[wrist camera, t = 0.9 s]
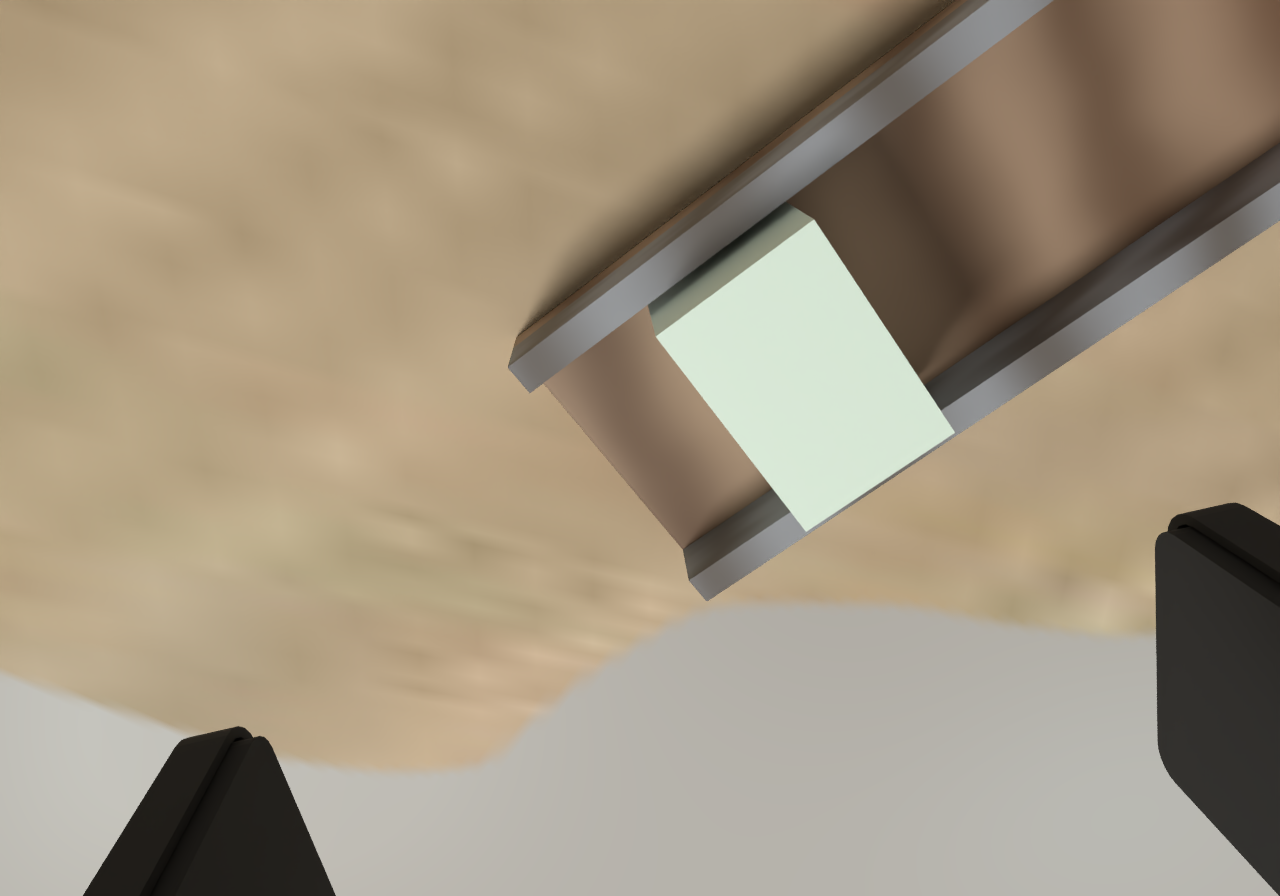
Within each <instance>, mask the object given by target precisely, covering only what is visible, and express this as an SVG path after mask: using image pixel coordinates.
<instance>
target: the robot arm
mask: <svg viewBox="0 0 1280 896" xmlns="http://www.w3.org/2000/svg"><path fill="white" fill-rule="evenodd" d="M1155 582H1156V650H1157V651H1156V653H1157V722H1158V724H1157V726H1158V748H1159V753H1160V756H1161V759H1162V761H1163V764H1164V766H1165V768H1166V770H1167V772H1168V773H1169V775H1170V777H1171V778H1172V779H1173V780H1174V782H1175V783H1176V784H1177V785H1178V786H1179V787H1180V788H1181V789H1182V790H1183V792H1184V793H1185V794H1186V795H1187V796H1188V797H1189V798H1190V799H1191V800H1192V801H1193V803H1195V805H1196V806H1197V807H1198V808H1199V809H1200V810H1201V811H1202V812H1203V813H1204V814H1205V815H1206V817H1207V818H1208V819H1209V820H1210V821H1211V822H1212V823H1213V824H1214V825H1215V826H1216V828H1218V830H1219V831H1220V832H1221V833H1222V834H1223V835H1224V836H1225V837H1226V838H1227V840H1229V842H1230V843H1231V844H1232V845H1233V846H1234V847H1235V848H1236V849H1237V850H1238V852H1239V853H1240V854H1241V855H1242V856H1243V857H1244V858H1245V859H1246V860H1247V861H1248V862H1249V863H1250V865H1251V866H1252V867H1253V868H1254V869H1255V870H1256V871H1257V872H1258V873H1259V874H1260V875H1261V876H1262V878H1263V879H1264V880H1265V881H1266V882H1267V883H1268V884H1269V885H1270V886H1271V887H1272V889H1273V890H1274V891H1275V892H1276V893H1277V894H1278V895H1279V896H1280V526H1279V525H1277V524H1276V523H1274V522H1272V521H1270V520H1269V519H1267V518H1265V517H1263V516H1262V515H1260V514H1258V513H1256V512H1255V511H1253V510H1251V509H1249V508H1248V507H1246V506H1244V505H1241V504H1238V503H1227V504H1223V505H1218V506H1214V507H1210V508H1205V509H1201V510H1196V511H1192V512H1187V513H1183V514H1179V515H1176V516H1175V517H1174V518H1173V519H1172V520H1171V522H1170V524H1169V526H1168V532H1163V533H1161V534H1160V535H1159V536H1158V538H1157V540H1156V545H1155ZM83 896H336V895H335V893H334V891H333V888H332V886H331V884H330V881H329V879H328V876H327V874H326V872H325V869H324V867H323V865H322V862H321V860H320V858H319V856H318V853H317V851H316V849H315V846H314V844H313V841H312V839H311V837H310V834H309V832H308V830H307V828H306V825H305V823H304V821H303V818H302V816H301V814H300V811H299V809H298V807H297V804H296V802H295V800H294V797H293V795H292V793H291V790H290V788H289V786H288V783H287V781H286V779H285V776H284V774H283V772H282V769H281V767H280V765H279V762H278V760H277V758H276V755H275V753H274V751H273V748H272V746H271V745H270V743H269V741H268V740H267V739H266V738H265V737H261V736H258V737H254V738H253V737H252V735H251V733H250V732H248V731H247V730H246V729H245V728H243V727H239V726H238V727H233V728H229V729H224V730H220V731H215V732H211V733H207V734H202V735H198V736H193V737H189V738H186V739H183V740H181V741H180V742H179V743H178V745H177V746H176V747H175V748H174V750H173V751H172V753H171V755H170V756H169V758H168V759H167V761H166V763H165V764H164V766H163V768H162V769H161V771H160V773H159V774H158V776H157V777H156V779H155V781H154V782H153V784H152V785H151V787H150V788H149V790H148V792H147V793H146V795H145V797H144V798H143V800H142V801H141V803H140V805H139V806H138V808H137V809H136V811H135V813H134V814H133V816H132V817H131V819H130V821H129V822H128V824H127V826H126V827H125V829H124V830H123V832H122V834H121V835H120V837H119V838H118V840H117V842H116V843H115V845H114V846H113V848H112V850H111V851H110V853H109V854H108V856H107V858H106V859H105V861H104V862H103V864H102V866H101V867H100V869H99V871H98V872H97V874H96V875H95V877H94V879H93V880H92V882H91V883H90V885H89V887H88V888H87V890H86V891H85V893H84V895H83Z"/></svg>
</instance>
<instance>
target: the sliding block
mask: <svg viewBox="0 0 1280 896" xmlns="http://www.w3.org/2000/svg"><path fill="white" fill-rule="evenodd" d="M648 308H649V312H650V316H651V320H652V324H653V328H654V332H655V336H656V338H657V339H658V340H659V342H660V343H661V344H662V346H663V347H664V348H665V349H666V351H667V352H668V353H669V355H670V356H671V357H672V359H673V360H674V361H675V362H676V364H677V365H678V366H679V368H680V369H681V370H682V372H683V373H684V374H685V375H686V377H687V378H688V379H689V381H690V382H691V383H692V384H693V386H694V387H695V388H696V390H697V391H698V392H699V394H700V395H701V396H702V397H703V399H704V400H705V401H706V403H707V404H708V405H709V407H710V408H711V409H712V410H713V412H714V413H715V414H716V416H717V417H718V418H719V420H720V421H721V422H722V423H723V425H724V426H725V427H726V429H727V430H728V431H729V433H730V434H731V435H732V436H733V438H734V439H735V440H736V442H737V443H738V444H739V446H740V447H741V448H742V449H743V451H744V452H745V453H746V455H747V456H748V457H749V459H750V460H751V461H752V462H753V464H754V465H755V466H756V468H757V469H758V470H759V472H760V473H761V474H762V475H763V477H764V478H765V479H766V481H767V482H768V483H769V484H770V486H771V487H772V488H773V490H774V491H775V492H776V494H777V495H778V496H779V497H780V499H781V500H782V501H783V503H784V504H785V505H786V507H787V508H788V509H789V510H790V512H791V513H792V514H793V516H794V517H795V518H796V520H797V521H798V522H799V523H800V525H801V526H802V527H803V529H804V530H805V531H806V532H807V531H808V530H810V529H811V528H813V527H814V526H816V525H817V524H819V523H820V522H822V521H823V520H825V519H826V518H828V517H829V516H831V515H832V514H834V513H835V512H837V511H838V510H840V509H841V508H843V507H844V506H846V505H847V504H849V503H850V502H852V501H853V500H855V499H856V498H858V497H859V496H861V495H862V494H864V493H865V492H867V491H868V490H870V489H871V488H873V487H874V486H876V485H877V484H879V483H880V482H882V481H883V480H885V479H886V478H888V477H889V476H891V475H892V474H894V473H895V472H897V471H898V470H900V469H901V468H903V467H904V466H906V465H907V464H909V463H910V462H912V461H913V460H915V459H916V458H918V457H919V456H921V455H922V454H924V453H925V452H927V451H928V450H930V449H931V448H933V447H934V446H936V445H937V444H939V443H940V442H942V441H943V440H945V439H946V438H948V437H949V436H951V435H952V434H954V433H955V432H954V430H953V429H952V427H951V426H950V424H949V423H948V421H947V420H946V418H945V417H944V415H943V414H942V412H941V411H940V409H939V408H938V406H937V404H936V403H935V401H934V400H933V398H932V397H931V395H930V394H929V392H928V391H927V389H926V388H925V386H924V385H923V383H922V382H921V380H920V379H919V377H918V376H917V374H916V373H915V371H914V370H913V368H912V367H911V365H910V364H909V362H908V361H907V359H906V358H905V356H904V355H903V353H902V352H901V350H900V349H899V347H898V346H897V344H896V343H895V341H894V339H893V338H892V336H891V335H890V333H889V332H888V330H887V329H886V327H885V326H884V324H883V323H882V321H881V320H880V318H879V317H878V315H877V314H876V312H875V311H874V309H873V308H872V306H871V305H870V303H869V302H868V300H867V299H866V297H865V296H864V294H863V293H862V291H861V290H860V288H859V287H858V285H857V284H856V282H855V281H854V279H853V278H852V276H851V274H850V273H849V271H848V270H847V268H846V267H845V265H844V264H843V262H842V261H841V259H840V258H839V256H838V255H837V253H836V252H835V250H834V249H833V247H832V246H831V244H830V243H829V241H828V240H827V238H826V237H825V235H824V234H823V232H822V231H821V229H820V228H819V226H818V225H817V223H816V222H815V220H814V219H813V218H811V217H809V216H808V215H806V214H805V213H803V212H801V211H800V210H798V209H797V208H795V207H793V206H792V205H790V204H789V203H787V202H784V203H783V204H781V205H780V206H779V207H777V208H776V209H775V210H773V211H772V212H771V213H769V214H768V215H767V216H765V217H764V218H763V219H761V220H760V221H759V222H757V223H756V224H755V225H753V226H752V227H751V228H749V229H748V230H747V231H745V232H744V233H743V234H741V235H740V236H739V237H737V238H736V239H735V240H733V241H732V242H731V243H729V244H728V245H727V246H725V247H724V248H723V249H721V250H720V251H719V252H717V253H716V254H715V255H713V256H712V257H711V258H709V259H708V260H707V261H705V262H704V263H703V264H701V265H700V266H699V267H697V268H696V269H695V270H693V271H692V272H691V273H689V274H688V275H687V276H685V277H684V278H683V279H681V280H680V281H679V282H677V283H676V284H675V285H674V286H672V287H671V288H670V289H668V290H667V291H666V292H664V293H663V294H662V295H660V296H659V297H658V298H656V299H655V300H654V301H652V302H651V303H650V304H648Z"/></svg>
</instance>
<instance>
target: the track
mask: <svg viewBox="0 0 1280 896" xmlns="http://www.w3.org/2000/svg"><path fill="white" fill-rule="evenodd" d="M784 202H787V203H789V204H790V205H792V206H793V207H795V208H797V209H798V210H800V211H801V212H803V213H805V214H806V215H808V216H809V217H811V218H813V219H814V220H815V222H816V223H817V225H818V226H819V228H820V229H821V231H822V232H823V234H824V235H825V237H826V238H827V240H828V241H829V243H830V244H831V246H832V247H833V249H834V250H835V252H836V253H837V255H838V256H839V258H840V259H841V261H842V262H843V264H844V265H845V267H846V268H847V270H848V271H849V273H850V274H851V276H852V278H853V279H854V281H855V282H856V284H857V285H858V287H859V288H860V290H861V291H862V293H863V294H864V296H865V297H866V299H867V300H868V302H869V303H870V305H871V306H872V308H873V309H874V311H875V312H876V314H877V315H878V317H879V318H880V320H881V321H882V323H883V324H884V326H885V327H886V329H887V330H888V332H889V333H890V335H891V336H892V338H893V339H894V341H895V343H896V344H897V346H898V347H899V349H900V350H901V352H902V353H903V355H904V356H905V358H906V359H907V361H908V362H909V364H910V365H911V367H912V368H913V370H914V371H915V373H916V374H917V376H918V377H919V379H920V380H921V382H922V383H923V385H924V386H925V388H926V389H927V391H928V392H929V394H930V395H931V397H932V398H933V400H934V401H935V403H936V404H937V406H938V408H939V409H940V411H941V412H942V414H943V415H944V417H945V418H946V420H947V421H948V423H949V424H950V426H951V427H952V429H953V430H954V432H955V433H954V434H952V435H951V436H949V437H948V438H946V439H945V440H943V441H942V442H940V443H939V444H937V445H936V446H934V447H933V448H931V449H930V450H928V451H927V452H925V453H924V454H922V455H921V456H919V457H918V458H916V459H915V460H913V461H912V462H910V463H909V464H907V465H906V466H904V467H903V468H901V469H900V470H898V471H897V472H895V473H894V474H892V475H891V476H889V477H888V478H886V479H885V480H883V481H882V482H880V483H879V484H877V485H876V486H874V487H873V488H871V489H870V490H868V491H867V492H865V493H864V494H862V495H861V496H859V497H858V498H856V499H855V500H853V501H852V502H850V503H849V504H847V505H846V506H844V507H843V508H841V509H840V510H838V511H837V512H835V513H834V514H832V515H831V516H829V517H828V518H826V519H825V520H823V521H822V522H820V523H819V524H817V525H816V526H814V527H813V528H811V529H810V530H808V531H807V532H806V531H805V530H804V529H803V527H802V526H801V525H800V523H799V522H798V521H797V520H796V518H795V517H794V516H793V514H792V513H791V512H790V510H789V509H788V508H787V507H786V505H785V504H784V503H783V501H782V500H781V499H780V497H779V496H778V495H777V494H776V492H775V491H774V490H773V488H772V487H771V486H770V484H769V483H768V482H767V481H766V479H765V478H764V477H763V475H762V474H761V473H760V472H759V470H758V469H757V468H756V466H755V465H754V464H753V462H752V461H751V460H750V459H749V457H748V456H747V455H746V453H745V452H744V451H743V449H742V448H741V447H740V446H739V444H738V443H737V442H736V440H735V439H734V438H733V436H732V435H731V434H730V433H729V431H728V430H727V429H726V427H725V426H724V425H723V423H722V422H721V421H720V420H719V418H718V417H717V416H716V414H715V413H714V412H713V410H712V409H711V408H710V407H709V405H708V404H707V403H706V401H705V400H704V399H703V397H702V396H701V395H700V394H699V392H698V391H697V390H696V388H695V387H694V386H693V384H692V383H691V382H690V381H689V379H688V378H687V377H686V375H685V374H684V373H683V372H682V370H681V369H680V368H679V366H678V365H677V364H676V362H675V361H674V360H673V359H672V357H671V356H670V355H669V353H668V352H667V351H666V349H665V348H664V347H663V346H662V344H661V343H660V342H659V340H658V339H657V338H656V336H655V332H654V328H653V324H652V320H651V316H650V312H649V308H648V304H650V303H651V302H652V301H654V300H655V299H656V298H658V297H659V296H660V295H662V294H663V293H664V292H666V291H667V290H668V289H670V288H671V287H672V286H674V285H675V284H676V283H677V282H679V281H680V280H681V279H683V278H684V277H685V276H687V275H688V274H689V273H691V272H692V271H693V270H695V269H696V268H697V267H699V266H700V265H701V264H703V263H704V262H705V261H707V260H708V259H709V258H711V257H712V256H713V255H715V254H716V253H717V252H719V251H720V250H721V249H723V248H724V247H725V246H727V245H728V244H729V243H731V242H732V241H733V240H735V239H736V238H737V237H739V236H740V235H741V234H743V233H744V232H745V231H747V230H748V229H749V228H751V227H752V226H753V225H755V224H756V223H757V222H759V221H760V220H761V219H763V218H764V217H765V216H767V215H768V214H769V213H771V212H772V211H773V210H775V209H776V208H777V207H779V206H780V205H781V204H783V203H784ZM1278 221H1280V0H955V1H954V2H953V3H951V4H950V5H949V6H947V7H946V8H945V9H944V10H942V11H941V12H940V13H938V14H937V15H936V16H934V17H933V18H932V19H931V20H929V21H928V22H927V23H925V24H924V25H923V26H921V27H920V28H919V29H918V30H916V31H915V32H914V33H912V34H911V35H910V36H908V37H907V38H906V39H905V40H903V41H902V42H901V43H899V44H898V45H897V46H895V47H894V48H893V49H891V50H890V51H889V52H888V53H886V54H885V55H884V56H882V57H881V58H880V59H878V60H877V61H876V62H875V63H873V64H872V65H871V66H869V67H868V68H867V69H865V70H864V71H863V72H862V73H860V74H859V75H858V76H856V77H855V78H854V79H852V80H851V81H850V82H848V83H847V84H846V85H845V86H843V87H842V88H841V89H839V90H838V91H837V92H835V93H834V94H833V95H832V96H830V97H829V98H828V99H826V100H825V101H824V102H822V103H821V104H820V105H819V106H817V107H816V108H815V109H813V110H812V111H811V112H809V113H808V114H807V115H806V116H804V117H803V118H802V119H800V120H799V121H798V122H796V123H795V124H794V125H792V126H791V127H790V128H789V129H787V130H786V131H785V132H783V133H782V134H781V135H779V136H778V137H777V138H776V139H774V140H773V141H772V142H770V143H769V144H768V145H766V146H765V147H764V148H763V149H761V150H760V151H759V152H757V153H756V154H755V155H753V156H752V157H751V158H750V159H748V160H747V161H746V162H744V163H743V164H742V165H740V166H739V167H738V168H736V169H735V170H734V171H733V172H731V173H730V174H729V175H727V176H726V177H725V178H723V179H722V180H721V181H720V182H718V183H717V184H716V185H714V186H713V187H712V188H710V189H709V190H708V191H707V192H705V193H704V194H703V195H701V196H700V197H699V198H697V199H696V200H695V201H693V202H692V203H691V204H690V205H688V206H687V207H686V208H684V209H683V210H682V211H680V212H679V213H678V214H677V215H675V216H674V217H673V218H671V219H670V220H669V221H667V222H666V223H665V224H664V225H662V226H661V227H660V228H658V229H657V230H656V231H654V232H653V233H652V234H651V235H649V236H648V237H647V238H645V239H644V240H643V241H641V242H640V243H639V244H637V245H636V246H635V247H634V248H632V249H631V250H630V251H628V252H627V253H626V254H624V255H623V256H622V257H621V258H619V259H618V260H617V261H615V262H614V263H613V264H611V265H610V266H609V267H608V268H606V269H605V270H604V271H602V272H601V273H600V274H598V275H597V276H596V277H594V278H593V279H592V280H591V281H589V282H588V283H587V284H585V285H584V286H583V287H581V288H580V289H579V290H578V291H576V292H575V293H574V294H572V295H571V296H570V297H568V298H567V299H566V300H565V301H563V302H562V303H561V304H559V305H558V306H557V307H555V308H554V309H553V310H552V311H550V312H549V313H548V314H546V315H545V316H544V317H542V318H541V319H540V320H538V321H537V322H536V323H535V324H533V325H532V326H531V327H529V328H528V329H527V330H525V331H524V332H523V333H522V334H520V335H519V336H518V337H516V341H515V344H514V348H513V351H512V355H511V358H510V361H509V365H508V368H509V369H510V371H511V372H512V373H513V374H514V375H515V376H516V378H517V379H518V380H519V381H520V382H521V383H522V385H523V386H524V387H525V388H526V389H527V391H528V392H529V393H531V392H532V391H534V390H535V389H536V388H538V387H539V386H540V385H542V384H544V385H545V386H546V387H547V388H548V390H549V391H550V392H551V393H552V394H553V396H554V397H555V398H556V399H557V400H558V401H559V403H560V404H561V405H562V406H563V407H564V409H565V410H566V411H567V412H568V413H569V415H570V416H571V417H572V418H573V419H574V421H575V422H576V423H577V424H578V425H579V426H580V428H581V429H582V430H583V431H584V432H585V434H586V435H587V436H588V437H589V438H590V440H591V441H592V442H593V443H594V444H595V446H596V447H597V448H598V449H599V450H600V451H601V453H602V454H603V455H604V456H605V457H606V459H607V460H608V461H609V462H610V463H611V465H612V466H613V467H614V468H615V469H616V471H617V472H618V473H619V474H620V475H621V477H622V478H623V479H624V480H625V481H626V482H627V484H628V485H629V486H630V487H631V488H632V490H633V491H634V492H635V493H636V494H637V496H638V497H639V498H640V499H641V500H642V502H643V503H644V504H645V505H646V506H647V507H648V509H649V510H650V511H651V512H652V513H653V515H654V516H655V517H656V518H657V519H658V521H659V522H660V523H661V524H662V525H663V527H664V528H665V529H666V530H667V531H668V532H669V534H670V535H671V536H672V537H673V538H674V540H675V541H676V542H677V543H678V544H679V546H680V547H681V548H682V549H683V553H684V558H685V563H686V568H687V573H688V578H689V581H690V582H691V583H692V585H693V586H694V587H695V588H696V589H697V591H698V592H699V593H700V594H701V595H702V596H703V598H704V599H705V600H706V601H708V600H710V599H711V598H713V597H714V596H716V595H717V594H719V593H720V592H722V591H723V590H725V589H726V588H728V587H729V586H731V585H732V584H734V583H735V582H737V581H738V580H740V579H741V578H743V577H745V576H746V575H748V574H749V573H751V572H752V571H754V570H755V569H757V568H758V567H760V566H761V565H763V564H764V563H766V562H767V561H769V560H770V559H772V558H773V557H775V556H776V555H778V554H779V553H781V552H782V551H784V550H785V549H787V548H788V547H790V546H791V545H793V544H794V543H796V542H797V541H799V540H800V539H802V538H803V537H805V536H806V535H808V534H809V533H811V532H812V531H814V530H815V529H817V528H818V527H820V526H821V525H823V524H824V523H826V522H827V521H829V520H830V519H832V518H833V517H835V516H836V515H838V514H839V513H841V512H842V511H844V510H845V509H847V508H848V507H850V506H851V505H853V504H854V503H856V502H857V501H859V500H860V499H862V498H863V497H865V496H866V495H868V494H869V493H871V492H872V491H874V490H875V489H877V488H878V487H880V486H881V485H883V484H884V483H886V482H887V481H889V480H890V479H892V478H893V477H895V476H896V475H898V474H899V473H901V472H902V471H904V470H905V469H907V468H908V467H910V466H911V465H913V464H914V463H916V462H917V461H919V460H920V459H922V458H923V457H925V456H926V455H928V454H929V453H931V452H932V451H934V450H936V449H937V448H939V447H940V446H942V445H943V444H945V443H946V442H948V441H949V440H951V439H952V438H954V437H955V436H957V435H958V434H960V433H961V432H963V431H964V430H966V429H967V428H969V427H970V426H972V425H973V424H975V423H976V422H978V421H979V420H981V419H982V418H984V417H985V416H987V415H988V414H990V413H991V412H993V411H994V410H996V409H997V408H999V407H1000V406H1002V405H1003V404H1005V403H1006V402H1008V401H1009V400H1011V399H1012V398H1014V397H1015V396H1017V395H1018V394H1020V393H1021V392H1023V391H1024V390H1026V389H1027V388H1029V387H1030V386H1032V385H1033V384H1035V383H1036V382H1038V381H1039V380H1041V379H1042V378H1044V377H1045V376H1047V375H1048V374H1050V373H1051V372H1053V371H1054V370H1056V369H1057V368H1059V367H1060V366H1062V365H1063V364H1065V363H1066V362H1068V361H1069V360H1071V359H1072V358H1074V357H1075V356H1077V355H1078V354H1080V353H1081V352H1083V351H1084V350H1086V349H1087V348H1089V347H1090V346H1092V345H1093V344H1095V343H1096V342H1098V341H1099V340H1101V339H1102V338H1104V337H1105V336H1107V335H1108V334H1110V333H1111V332H1113V331H1114V330H1116V329H1117V328H1119V327H1120V326H1122V325H1123V324H1125V323H1126V322H1128V321H1130V320H1131V319H1133V318H1134V317H1136V316H1137V315H1139V314H1140V313H1142V312H1143V311H1145V310H1146V309H1148V308H1149V307H1151V306H1152V305H1154V304H1155V303H1157V302H1158V301H1160V300H1161V299H1163V298H1164V297H1166V296H1167V295H1169V294H1170V293H1172V292H1173V291H1175V290H1176V289H1178V288H1179V287H1181V286H1182V285H1184V284H1185V283H1187V282H1188V281H1190V280H1191V279H1193V278H1194V277H1196V276H1197V275H1199V274H1200V273H1202V272H1203V271H1205V270H1206V269H1208V268H1209V267H1211V266H1212V265H1214V264H1215V263H1217V262H1218V261H1220V260H1221V259H1223V258H1224V257H1226V256H1227V255H1229V254H1230V253H1232V252H1233V251H1235V250H1236V249H1238V248H1239V247H1241V246H1242V245H1244V244H1245V243H1247V242H1248V241H1250V240H1251V239H1253V238H1254V237H1256V236H1257V235H1259V234H1260V233H1262V232H1263V231H1265V230H1266V229H1268V228H1269V227H1271V226H1272V225H1274V224H1275V223H1277V222H1278Z"/></svg>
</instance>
